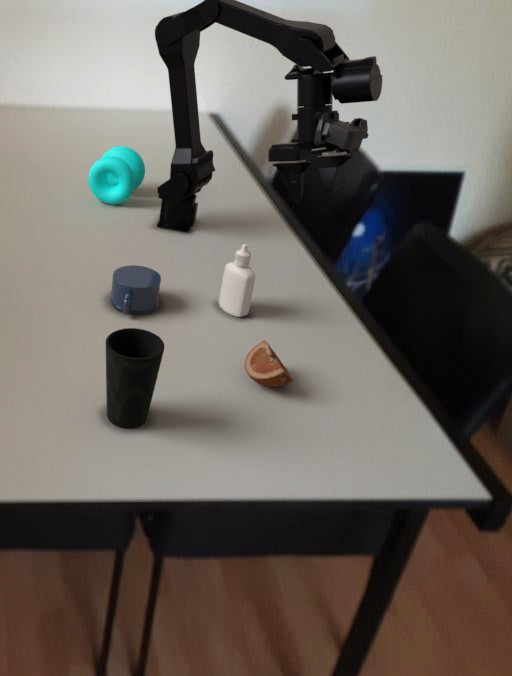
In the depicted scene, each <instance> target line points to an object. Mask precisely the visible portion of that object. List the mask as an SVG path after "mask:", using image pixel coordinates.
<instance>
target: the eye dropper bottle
mask: <svg viewBox="0 0 512 676" xmlns="http://www.w3.org/2000/svg"><path fill="white" fill-rule="evenodd" d="M251 256H252V253H251V251H249V250H248V244H246V243H243V244H242V245H241V248H240V249H238V250H236V251H235V255H234V261H229V262H228V263H227V264H225V266H224V269H223V275H222V281H221V286H220V291H219V292H220V293H219V298H218V306H219V307H220V309H222V310H223V311H224V312H225V313H227V314H228V315H231V316H233V317H236V318H241V317H245V316H248V315H249V312H250V308H251V303H252V296H253V292H254V286H255V280H256V274H255V272H254V270H253V269H252V267H251V266H250V262H251Z"/></svg>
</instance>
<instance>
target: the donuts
mask: <svg viewBox="0 0 512 676" xmlns="http://www.w3.org/2000/svg"><path fill="white" fill-rule="evenodd" d="M145 175H146V166H145V162H144V160H143V157H141V155H140V154H139V153H138V152H137V151H136V150H135V149H133V148H131V147H128V146H124V145H121V146H120V145H119V146H114V147H112V148H109V149H108V150H107V151H106V152H105V153H104V154H103V156H102V157H101V158H99V159H97V161H95V162H94V163H93V164H92V166H91V168H90V170H89V173H88V186H89V188H90V191H91V192H92V194H93V195H94V197H96V199H98V200H99V201H100V202H102V203H104V204H108V205H119V204H123V203H124V202H126V201H127V200H128V199H129V198H131V196H132V195H133V193H134V191H135V190H137V189H138V188H139V187H141V184H142V183H143V181H144V180H145Z"/></svg>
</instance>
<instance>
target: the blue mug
mask: <svg viewBox="0 0 512 676" xmlns="http://www.w3.org/2000/svg"><path fill="white" fill-rule="evenodd" d="M161 283H162V276H161V274H160V273H159V272H158V271H156V270H154V269H152V268H151V267H147V266H143V265H137V264H136V265H135V264H134V265H124V266H120V267H118V268H116V269H115V270H114V271H113V273H112V280H111V290H110V291H111V292H110V296H109V304H110V306H111V307H112V308H113V309H115V310H116V311H118V312H120V313H123V315H132V316H142V315H143V316H144V315H148V314H151V313H153V312H155V311H156V310H157V309H158V308H159V304H160V301H159V300H160V299H159V298H160V291H161V290H160V289H161Z"/></svg>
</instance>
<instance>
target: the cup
mask: <svg viewBox="0 0 512 676" xmlns="http://www.w3.org/2000/svg"><path fill="white" fill-rule="evenodd" d="M164 352H165V342H164V341H163V339H162V338H161V337H160V336H159V335H158V334H156V333H154V332H152V331H149V330H146V329H143V328H137V327H135V328H134V327H128V328H127V327H126V328H125V327H124V328H121V329H117V330H114V331H113V332H112V331H111V333H109V335H107V336H106V339H105V387H106V388H105V389H106V393H105V394H106V418H107V420H108V421H109V423H111V425H113V426H115V427H118V428H120V429H126V430H127V429H129V430H132V429H138V428H140V427H143V426H144V425H145V424H146V422H147V421H148V418H149V417H148V416H149V413H150V408H151V404H152V401H153V397H154V393H155V389H156V384H157V380H158V376H159V371H160V367H161V364H162V359H163V357H164Z"/></svg>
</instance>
